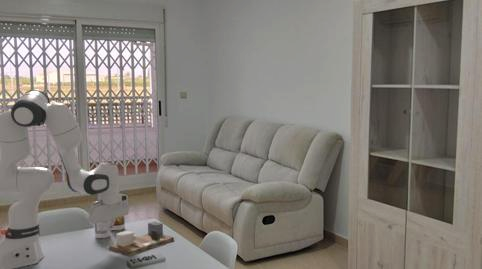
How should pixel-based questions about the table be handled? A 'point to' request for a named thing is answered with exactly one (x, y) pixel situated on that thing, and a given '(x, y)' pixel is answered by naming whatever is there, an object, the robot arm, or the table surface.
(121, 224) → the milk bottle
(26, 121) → the robot arm
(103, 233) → the bath foam
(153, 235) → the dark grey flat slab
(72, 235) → the table surface
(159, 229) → the dark grey cube
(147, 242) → the wooden tray
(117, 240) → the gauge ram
